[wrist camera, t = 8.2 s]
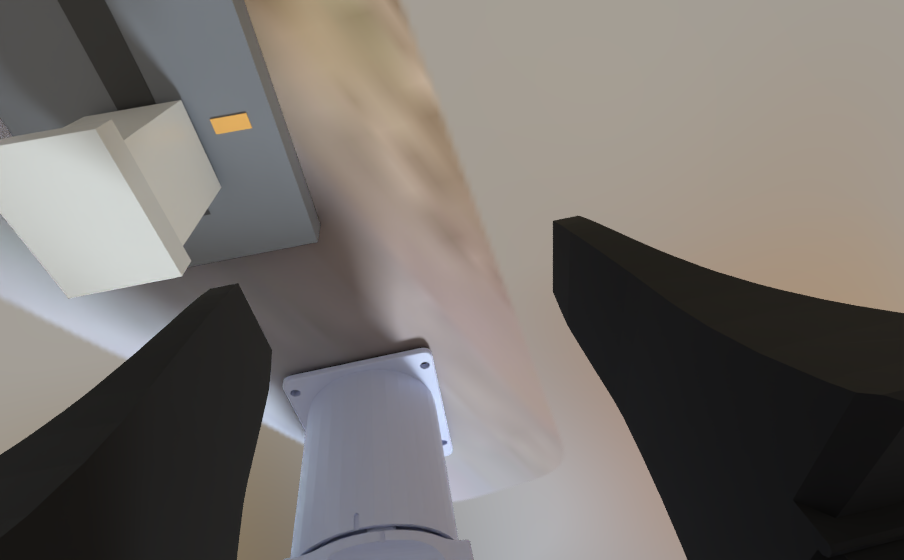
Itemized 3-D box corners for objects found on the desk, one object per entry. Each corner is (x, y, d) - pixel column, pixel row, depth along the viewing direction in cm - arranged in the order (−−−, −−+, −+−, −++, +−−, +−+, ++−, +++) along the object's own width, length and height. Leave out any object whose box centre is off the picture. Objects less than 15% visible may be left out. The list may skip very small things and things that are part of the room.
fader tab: (227, 200, 16) (182, 276, 12) (142, 216, 16) (68, 298, 12) (172, 83, 14) (94, 128, 10) (73, 99, 14) (-48, 153, 10)
